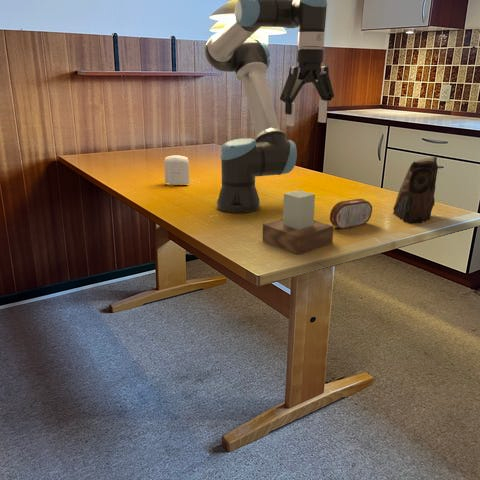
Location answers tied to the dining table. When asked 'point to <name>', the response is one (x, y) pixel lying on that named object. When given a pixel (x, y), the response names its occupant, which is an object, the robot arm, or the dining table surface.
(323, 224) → the walnut board
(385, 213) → the dining table surface
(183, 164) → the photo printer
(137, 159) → the dining table surface
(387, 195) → the dining table surface
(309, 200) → the sage block
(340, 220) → the tin
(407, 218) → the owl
